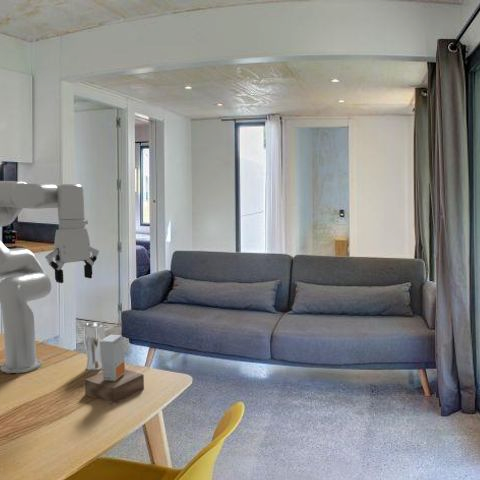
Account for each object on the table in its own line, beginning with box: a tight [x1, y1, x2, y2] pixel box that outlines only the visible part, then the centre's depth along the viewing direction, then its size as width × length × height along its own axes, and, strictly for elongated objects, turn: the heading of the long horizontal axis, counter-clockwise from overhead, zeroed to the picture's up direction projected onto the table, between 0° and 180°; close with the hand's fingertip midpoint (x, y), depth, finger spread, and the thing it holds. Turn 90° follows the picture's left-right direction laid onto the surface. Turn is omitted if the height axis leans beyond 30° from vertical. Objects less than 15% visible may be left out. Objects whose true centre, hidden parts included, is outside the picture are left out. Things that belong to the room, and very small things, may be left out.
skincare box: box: [100, 334, 126, 381], centre depth 143 cm, size 6×4×12 cm
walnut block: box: [84, 369, 145, 405], centre depth 144 cm, size 12×12×5 cm
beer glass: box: [83, 321, 106, 372], centre depth 163 cm, size 7×7×15 cm
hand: (74, 280), depth 149 cm, fingers open, 9 cm apart
